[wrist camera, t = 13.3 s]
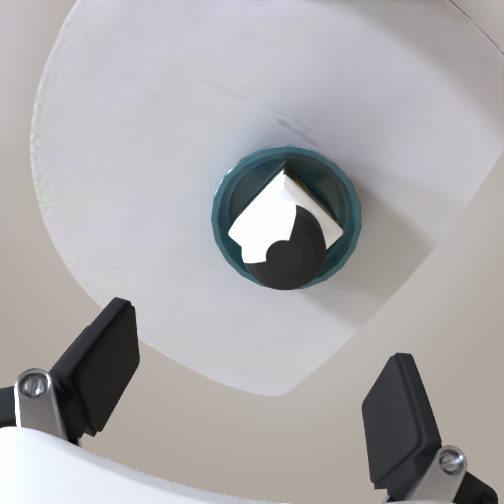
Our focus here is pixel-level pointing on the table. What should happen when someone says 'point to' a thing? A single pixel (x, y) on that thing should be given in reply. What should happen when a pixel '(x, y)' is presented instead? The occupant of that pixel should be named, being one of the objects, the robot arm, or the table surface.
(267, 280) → the medicine bottle
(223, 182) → the dish
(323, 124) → the table surface
